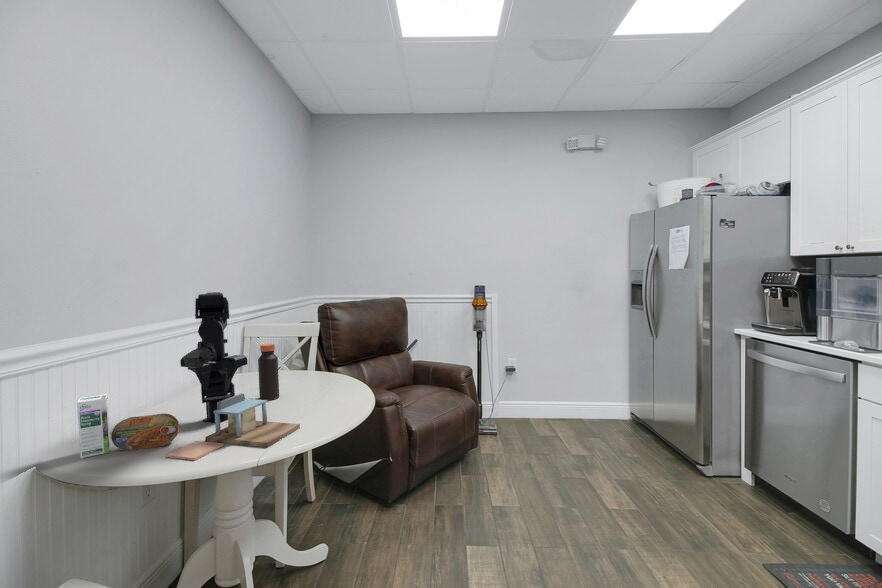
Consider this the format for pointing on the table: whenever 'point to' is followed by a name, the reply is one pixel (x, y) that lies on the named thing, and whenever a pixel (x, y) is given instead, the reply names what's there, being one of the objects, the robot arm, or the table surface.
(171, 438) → the tin
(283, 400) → the table surface
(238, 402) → the light blue toy bench
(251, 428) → the maple block
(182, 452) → the terracotta tile
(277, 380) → the bottle
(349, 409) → the table surface
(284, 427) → the puzzle board
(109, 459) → the table surface
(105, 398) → the syrup box
